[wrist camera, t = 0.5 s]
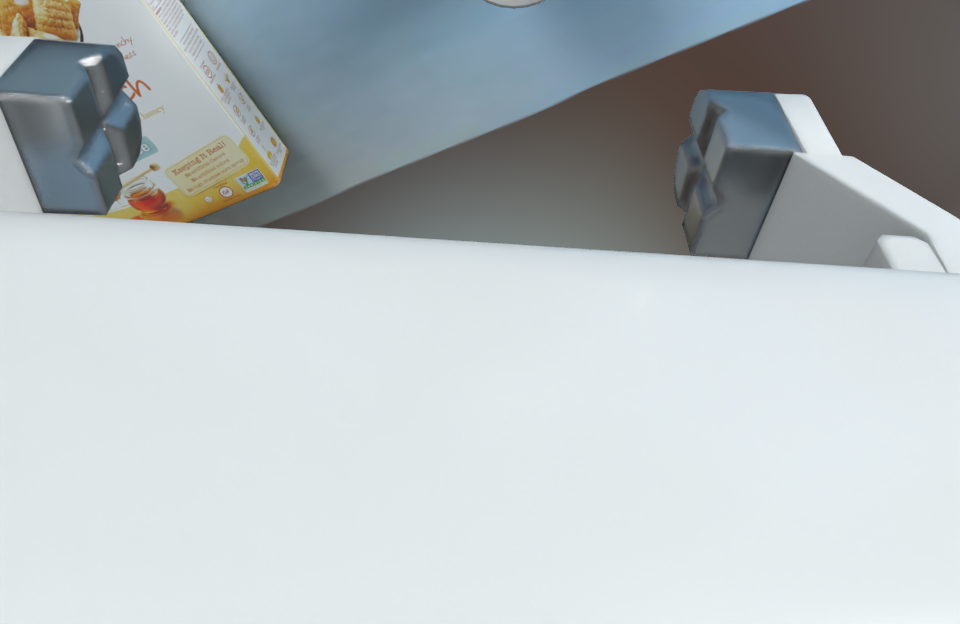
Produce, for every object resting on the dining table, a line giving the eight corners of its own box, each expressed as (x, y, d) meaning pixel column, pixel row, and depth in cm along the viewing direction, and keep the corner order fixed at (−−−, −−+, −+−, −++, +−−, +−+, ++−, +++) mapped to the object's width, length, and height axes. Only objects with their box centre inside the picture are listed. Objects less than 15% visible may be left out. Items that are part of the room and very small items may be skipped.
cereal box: (85, 271, 66) (-256, -37, 48) (107, 229, 70) (-201, -69, 52) (284, 186, 60) (-20, -201, 42) (295, 146, 64) (22, -223, 46)
